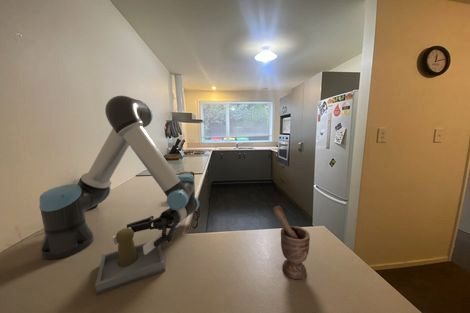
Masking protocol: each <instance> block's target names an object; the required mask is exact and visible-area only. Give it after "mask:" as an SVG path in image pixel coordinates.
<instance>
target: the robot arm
mask: <svg viewBox="0 0 470 313" xmlns="http://www.w3.org/2000/svg"><path fill="white" fill-rule="evenodd" d="M152 112H153V111H152V109H151V108H150V106H149V105H147V104H146V103H145V102H143V101H142V100H140V99H135V98H133V97H130V96H127V95H117V96H114V97H111V99H109V100H108V101H107V102H106V105H105V116H106V118H107V121H108V122H109V125H110V126H111V127H112V129H111V130H110V133H109V134H108V136H107V138H106V140H105V141H104V143H103V145H102V147H101V149H100V150H99V153H98V154H97V156H96V157H95V160H94V162H93V163H92V165H91V167H90V168H89V171H88V172H86V173H83V174H82V175H81V176H80V178H79V180H78V182H77V183H76V184H74V183H73V184H72V183H70V184H64V185H60V186H55V187H52V188H50V189H47V190H46V191H44V192H43V193H42V194H41V195H40V196H39V207H38V208H39V210H40V214H41V219H42V224H43V229H44V237H43V240H42V244H41V247H40V248H41V249H40V254H41V257H42V259H45V260H58V259H61V258H62V259H63V258H66V257H69V256H71V255H72V256H73V255H74V254H75V255H76V254H77V253H79V252H81V251H83V250H85V249H86V248H87V247H89V246H90V245H91V244H92V243H93V242H94V234H93V232H92V230H91V228H90V227H89V225H88V224H87V222H86V215H85V212H87V211H89V210H90V209H92V208H93V207H95V206H97V205H99V204H101V203H102V202H104V201H105V200H107V198H108V197H109V195H110V193H111V185H112V181H111V178H112V177H113V175H114V172H115V171H116V169H117V168H118V166H119V164H120V163H121V161H122V159H123V157H124V155H125V153H126V152H127V150H128V148H129V146H130V148H131V149H132V151H133V152H134V154H135V155H136V157H137V158H138V159H139V160H140V161H141V164H143V165H144V167H145V169H146V171H148V172H149V174H150V175H151V177H152V178H153V179H154V181H155V183H157V185H158V186H159V188H160V189H161V190H162V192H163V193H164V194H165V196H166V203H167V206H168V208H167V209H166V210H163V211H162V212H161V213H160V215H159V216H158V217H154V216H153V215H151V216H149V217H147V218H143V219H140V220H137V221H133V222H130V223H128V224H126V228H131V229H132V230H133V231H134V233H138V232H143V231H145V230H150V231H151V230H158V231H161V234H157V235H156V236H155V237H154V238H153V239H150V241H148V242H146V243H147V244H145V243H144V244H145V245H144V246H143V251H144V254H145V255H146V254H147V253H149V252H150V251H151V250H152V249H154V248H155V247H157V246H159V245H161V244H163V243H166V242H167V243H169V244H170V243H171V242H172V240H173V239H174V236H175V233H176V232H177V230H178V229H179V228H180V227H179V223H181V222H182V221H183V220H185V219H187V218H188V217H189V216H191V215H192V214H194V213H195V212H196V211H197V210H198V209H199V207H200V201H199V199H198V198H197V197H196V194H195V195H194V183H195V175H194V176H193V175H192V174H181V175H180V174H178V175H177V173H176V172H175V171H174V169H173V168H172V167H171V165H170V163H169V162H168V161H167V160H166V158H165V156H164V155H163V154H162V152H161V151H160V149H159V147H158V146H157V145H156V144H155V142H154V141H153V140H152V138H151V136H150V135H149V133H147V132H148V131H146V130H145V127H147V126H149V125H150V124H151V122H152V121H153V113H152ZM167 229H169V231H168V230H167ZM167 231H168V233H167ZM111 237H112V244H113V245H114V246H115V245H117V244H118V242H117V240H116V234H115V235H113V236H111Z"/></svg>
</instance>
